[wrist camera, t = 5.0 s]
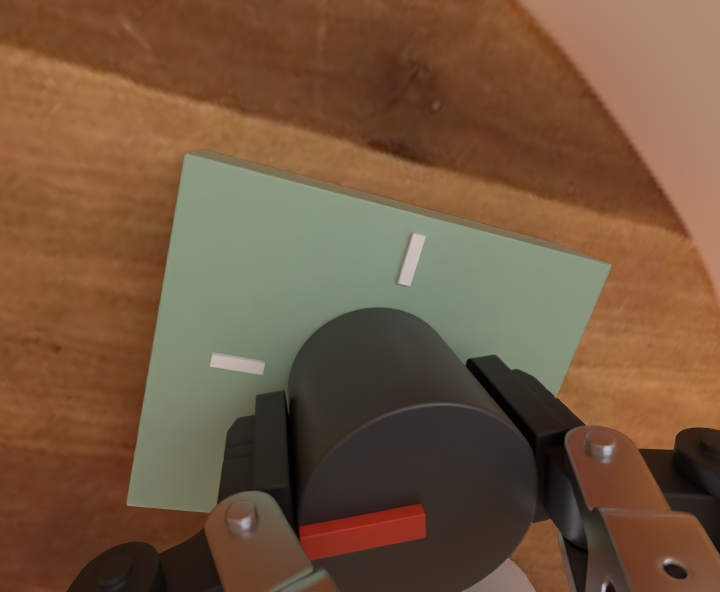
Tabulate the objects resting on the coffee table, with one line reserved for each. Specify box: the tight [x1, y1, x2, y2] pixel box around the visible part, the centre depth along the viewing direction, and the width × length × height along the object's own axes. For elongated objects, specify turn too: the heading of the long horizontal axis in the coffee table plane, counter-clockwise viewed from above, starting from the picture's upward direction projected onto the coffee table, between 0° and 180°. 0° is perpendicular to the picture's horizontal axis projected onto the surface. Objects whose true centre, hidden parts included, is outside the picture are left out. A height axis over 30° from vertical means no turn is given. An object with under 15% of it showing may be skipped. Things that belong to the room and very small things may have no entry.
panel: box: [126, 149, 612, 513], centre depth 15 cm, size 12×10×3 cm
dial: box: [288, 307, 540, 592], centre depth 11 cm, size 5×5×5 cm
